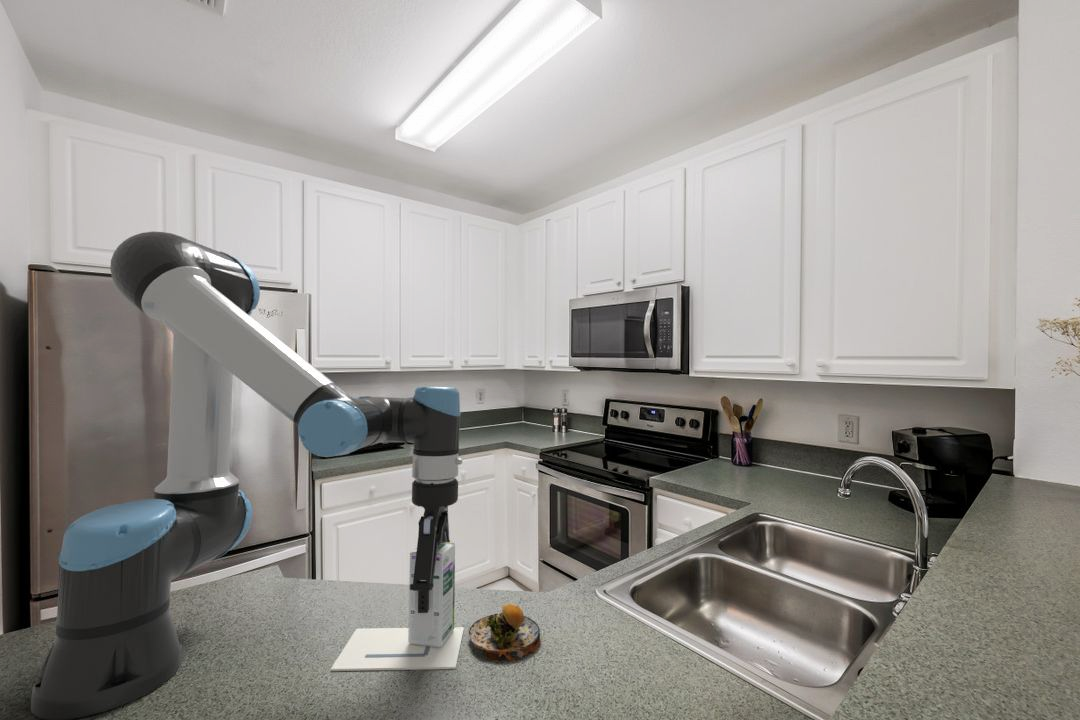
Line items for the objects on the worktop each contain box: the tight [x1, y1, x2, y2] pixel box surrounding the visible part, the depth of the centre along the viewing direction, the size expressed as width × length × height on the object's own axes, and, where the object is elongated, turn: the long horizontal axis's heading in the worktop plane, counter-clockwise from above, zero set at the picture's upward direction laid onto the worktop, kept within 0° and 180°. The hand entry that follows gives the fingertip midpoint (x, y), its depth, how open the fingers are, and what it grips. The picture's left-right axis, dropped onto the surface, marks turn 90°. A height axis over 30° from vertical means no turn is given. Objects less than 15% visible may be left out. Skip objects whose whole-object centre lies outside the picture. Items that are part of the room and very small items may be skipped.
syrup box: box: [408, 541, 456, 647], centre depth 76 cm, size 6×6×14 cm
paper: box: [330, 626, 465, 672], centre depth 72 cm, size 18×11×1 cm, turn 93°
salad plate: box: [468, 596, 541, 662], centre depth 75 cm, size 12×12×8 cm
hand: (432, 609), depth 75 cm, fingers open, 13 cm apart
